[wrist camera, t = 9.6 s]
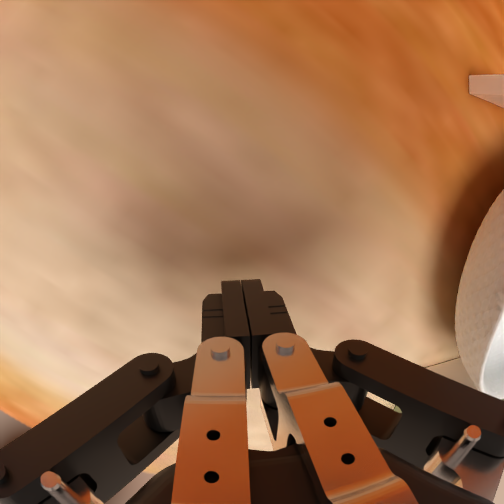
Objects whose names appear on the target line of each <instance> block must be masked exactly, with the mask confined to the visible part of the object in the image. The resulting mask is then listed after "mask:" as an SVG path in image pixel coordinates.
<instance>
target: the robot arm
mask: <svg viewBox="0 0 504 504" xmlns="http://www.w3.org/2000/svg"><path fill="white" fill-rule="evenodd" d="M221 287H222V294H208V295H207V297H206V298H205V299H204V300H203V304H202V341H201V344H200V345H199V347H198V349H197V353H196V354H195V355H193V356H192V357H190V358H188V359H186V360H182V361H178V362H175V363H172V361H171V360H170V359H169V358H168V357H166V356H164V355H162V354H158V353H147V354H143V355H140V356H137V357H136V358H134V359H133V360H131V361H130V362H128V363H127V364H125V365H124V366H123V367H121V368H120V369H118V370H117V371H115V372H114V373H112V374H111V375H110V376H108V377H107V378H105V379H104V380H102V381H101V382H99V383H98V384H97V385H95V386H94V387H92V388H91V389H89V390H88V391H86V392H85V393H84V394H82V395H81V396H79V397H78V398H76V399H75V400H73V401H72V402H70V403H69V404H67V405H66V406H64V407H63V408H62V409H60V410H59V411H57V412H56V413H54V414H53V415H51V416H50V417H48V418H47V419H45V420H44V421H42V422H41V423H39V424H38V425H36V426H35V427H33V428H32V429H30V430H29V431H27V432H26V433H24V434H23V435H21V436H20V437H18V438H17V439H15V440H14V441H12V442H11V443H9V444H8V445H6V446H5V447H3V448H2V449H0V503H1V504H104V503H105V502H107V501H108V500H109V499H110V498H112V497H113V496H114V495H115V494H116V493H117V492H119V491H120V490H121V489H122V488H123V487H125V486H126V485H127V484H128V483H129V482H130V481H132V480H133V479H134V478H135V477H136V476H137V475H138V474H140V473H141V472H142V471H143V470H144V469H145V468H146V467H148V466H149V465H150V464H151V463H152V462H153V461H154V460H155V459H156V458H157V457H159V456H160V455H161V454H162V453H163V452H164V451H165V450H166V449H167V448H168V447H169V446H170V445H172V444H173V443H174V442H175V441H176V440H177V439H178V438H179V444H178V452H177V459H176V463H175V464H173V465H171V466H168V467H167V468H165V469H163V470H161V471H160V472H159V473H157V474H156V475H155V476H153V477H152V478H151V479H150V480H149V481H148V482H147V483H146V484H145V485H144V486H143V487H142V488H141V489H140V490H139V491H138V492H137V493H136V494H135V495H134V496H133V497H132V498H130V500H128V501H127V502H126V503H125V504H494V503H493V499H494V497H495V494H496V491H497V488H498V485H499V482H500V479H501V476H502V473H503V470H504V401H503V400H501V399H498V398H496V397H493V396H491V395H488V394H486V393H483V392H481V391H478V390H476V389H473V388H471V387H469V386H466V385H464V384H461V383H459V382H457V381H454V380H452V379H450V378H447V377H445V376H442V375H440V374H438V373H435V372H433V371H431V370H428V369H426V368H424V367H422V366H419V365H417V364H415V363H412V362H410V361H408V360H406V359H403V358H401V357H399V356H396V355H394V354H392V353H390V352H388V351H385V350H383V349H381V348H379V347H376V346H374V345H372V344H370V343H368V342H365V341H362V340H346V341H343V342H341V343H340V344H338V345H337V346H336V348H335V352H333V351H323V350H316V349H313V348H310V347H309V346H308V344H307V342H306V341H305V340H304V339H303V338H302V337H300V336H298V335H297V334H296V332H295V329H294V327H293V324H292V321H291V319H290V316H289V314H288V311H287V309H286V307H285V304H284V301H283V298H282V297H281V296H280V295H279V294H277V293H276V292H275V291H263V287H262V284H261V281H260V279H254V280H241V283H240V280H235V281H221ZM250 379H251V385H252V388H260V394H261V400H260V405H261V409H262V413H263V416H264V419H265V423H266V426H267V429H268V433H269V436H270V439H271V443H272V446H273V451H259V450H250V449H248V435H247V411H246V400H247V389H250ZM367 392H370V393H372V394H374V395H376V396H378V397H380V398H382V399H385V400H387V401H389V402H391V403H393V404H395V405H397V406H398V407H399V408H400V409H401V411H402V413H398V412H396V411H394V410H392V409H390V408H388V407H386V406H384V405H382V404H380V403H378V402H376V401H374V400H372V399H370V398H368V397H366V395H367Z"/></svg>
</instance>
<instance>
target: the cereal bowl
mask: <svg viewBox="0 0 504 504" xmlns="http://www.w3.org/2000/svg"><path fill="white" fill-rule="evenodd" d="M455 309H456V313H455V332H456V335H455V338H456V341H457V347H458V351H459V355H460V357H461V361H462V363H463V365H464V367H465V369H466V372H467V373H468V375H469V376H470V379H471V380H472V381H473V383H474V384H475V386H476V388H477V389H478V390H479V391H481V392H483V393H486V394H488V395H491V396H493V397H496V398H498V399H504V189H503V190H502V192H501V193H500V194H499V196H498V197H497V198H496V200H495V202H493V203H492V206H491V207H490V209H489V211H488V213H487V214H486V216H485V217H484V220H483V221H482V224H481V226H480V227H479V229H478V231H477V234H476V236H475V239H474V241H473V242H472V245H471V248H470V252H469V254H468V257H467V260H466V263H465V266H464V269H463V273H462V275H461V279H460V285H459V288H458V295H457V302H456V308H455Z"/></svg>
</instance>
